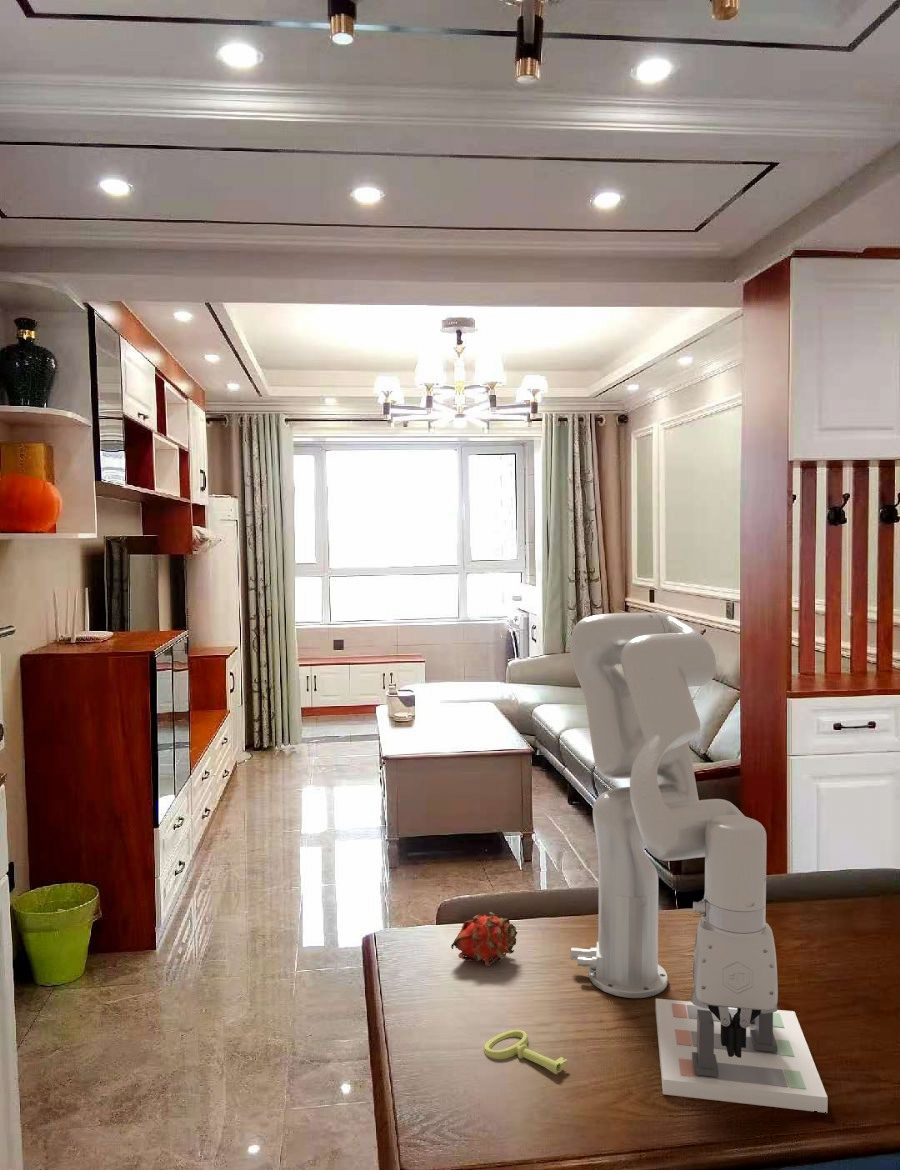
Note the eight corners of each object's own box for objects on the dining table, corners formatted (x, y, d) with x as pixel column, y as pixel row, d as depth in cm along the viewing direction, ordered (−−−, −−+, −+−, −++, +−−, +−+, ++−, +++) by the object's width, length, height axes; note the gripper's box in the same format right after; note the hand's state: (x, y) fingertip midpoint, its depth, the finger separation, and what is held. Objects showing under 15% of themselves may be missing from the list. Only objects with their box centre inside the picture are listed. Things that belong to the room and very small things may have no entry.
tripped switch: (694, 1074, 111) (694, 1023, 110) (691, 1057, 114) (692, 1008, 114) (718, 1076, 110) (719, 1025, 110) (715, 1060, 114) (715, 1010, 113)
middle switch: (754, 1049, 116) (754, 1001, 116) (750, 1034, 120) (750, 987, 119) (777, 1052, 116) (778, 1003, 115) (772, 1037, 119) (773, 989, 119)
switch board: (662, 1094, 110) (663, 1078, 110) (655, 1011, 130) (655, 997, 130) (827, 1112, 107) (827, 1096, 107) (794, 1024, 126) (794, 1010, 126)
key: (561, 1082, 114) (561, 1067, 114) (478, 1057, 119) (478, 1042, 119) (579, 1054, 120) (579, 1039, 120) (499, 1031, 126) (499, 1017, 126)
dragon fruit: (523, 966, 147) (457, 985, 144) (507, 921, 154) (443, 939, 151) (528, 941, 142) (459, 961, 139) (510, 896, 148) (444, 914, 145)
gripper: (677, 922, 108) (676, 1062, 109) (802, 931, 106) (799, 1074, 107) (673, 898, 116) (671, 1029, 117) (789, 905, 113) (787, 1040, 114)
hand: (733, 1050), depth 112 cm, fingers closed
